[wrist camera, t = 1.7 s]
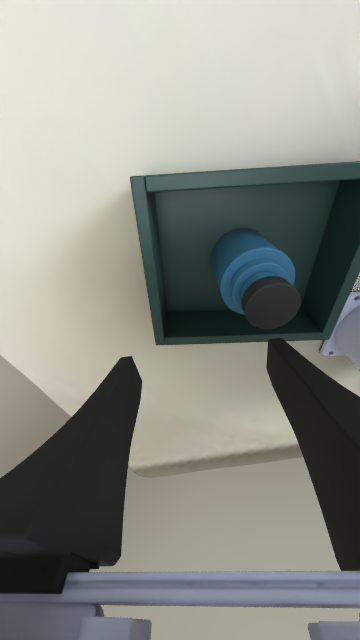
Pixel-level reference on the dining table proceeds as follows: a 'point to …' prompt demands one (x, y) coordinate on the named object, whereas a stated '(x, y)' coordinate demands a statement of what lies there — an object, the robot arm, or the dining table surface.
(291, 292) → the bottle
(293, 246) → the bin
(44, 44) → the dining table surface
